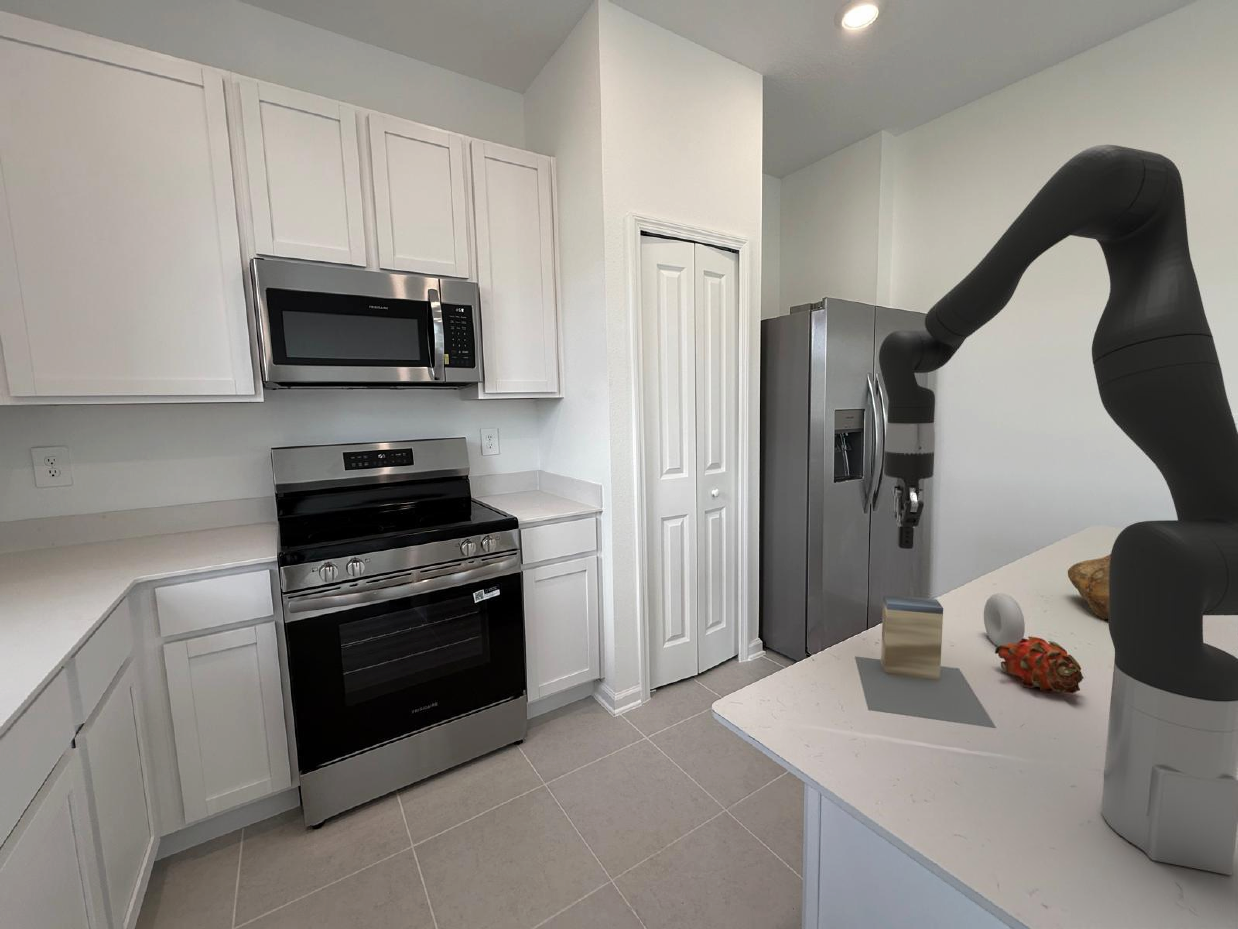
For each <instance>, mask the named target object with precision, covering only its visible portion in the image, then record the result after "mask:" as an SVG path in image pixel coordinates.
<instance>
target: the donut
mask: <svg viewBox="0 0 1238 929" xmlns="http://www.w3.org/2000/svg"><path fill="white" fill-rule="evenodd" d="M983 624H984V628H985V632H986V634H987V636H988V639H989V640H990V641H991V642H992V643H993V645H995V646H996V647H997V648H998V647H999V646H1001V645H1007V644H1010V643H1015V644H1016V643H1019V642H1020V641H1021V640H1022V639H1023V638H1024V636H1025V633H1026V631H1025V628H1026V627H1025V626H1026V625H1025V617H1024V614H1023V611H1022V608H1021V607H1020V605H1019V603H1018V602H1017V601H1016V600H1015V598H1013V596H1011V595H1008V594H1006V593H1003V592H997V593H994V594H992V595H991V596H989V598H988V599H987V600H986V602H985V605H984V609H983Z"/></svg>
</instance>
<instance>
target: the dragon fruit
mask: <svg viewBox="0 0 1238 929" xmlns="http://www.w3.org/2000/svg"><path fill="white" fill-rule="evenodd" d="M993 652H994V654H995V655H996V654H997V655H998V657H999V658H1000V659H1003V661H1000V667H1001V669H1002V672H1003V673H1004V674H1009V675H1012V676H1013V675H1014V676H1018V677H1019V678H1020V679H1022V680H1021V682H1020V683H1021V685H1022V687H1025V688H1028V689H1035V687H1038V688H1039V689H1040V691H1042V692H1043V691H1044V692H1045V691H1046V692H1047V693H1049V694H1051V693H1062V692H1065V693H1069V694H1074V693H1077V692H1080V691H1081V689H1080V686H1079V685H1080V683H1081V682H1082V681H1083V679H1085V677H1084V675H1083V673H1082V671H1081V670H1082V667H1081V665H1080V664H1079V662H1078V661H1077V659H1075V657H1074V656H1073V655H1071V654H1068V652H1067V650H1066V649H1065V648H1064V647H1062V646H1061V645H1060V644H1059V643H1057V642H1055V641H1051V640H1048V642H1047V640H1045V639H1043V638H1041V637H1037V636H1028V637H1027V638H1023V639H1022V640H1021V641H1020V642H1019V643H1016V644H1015V643H1010V644H1007V645H1001V646H999V647H998V646H997V647H996V648H995V649H994V651H992V653H993Z"/></svg>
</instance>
